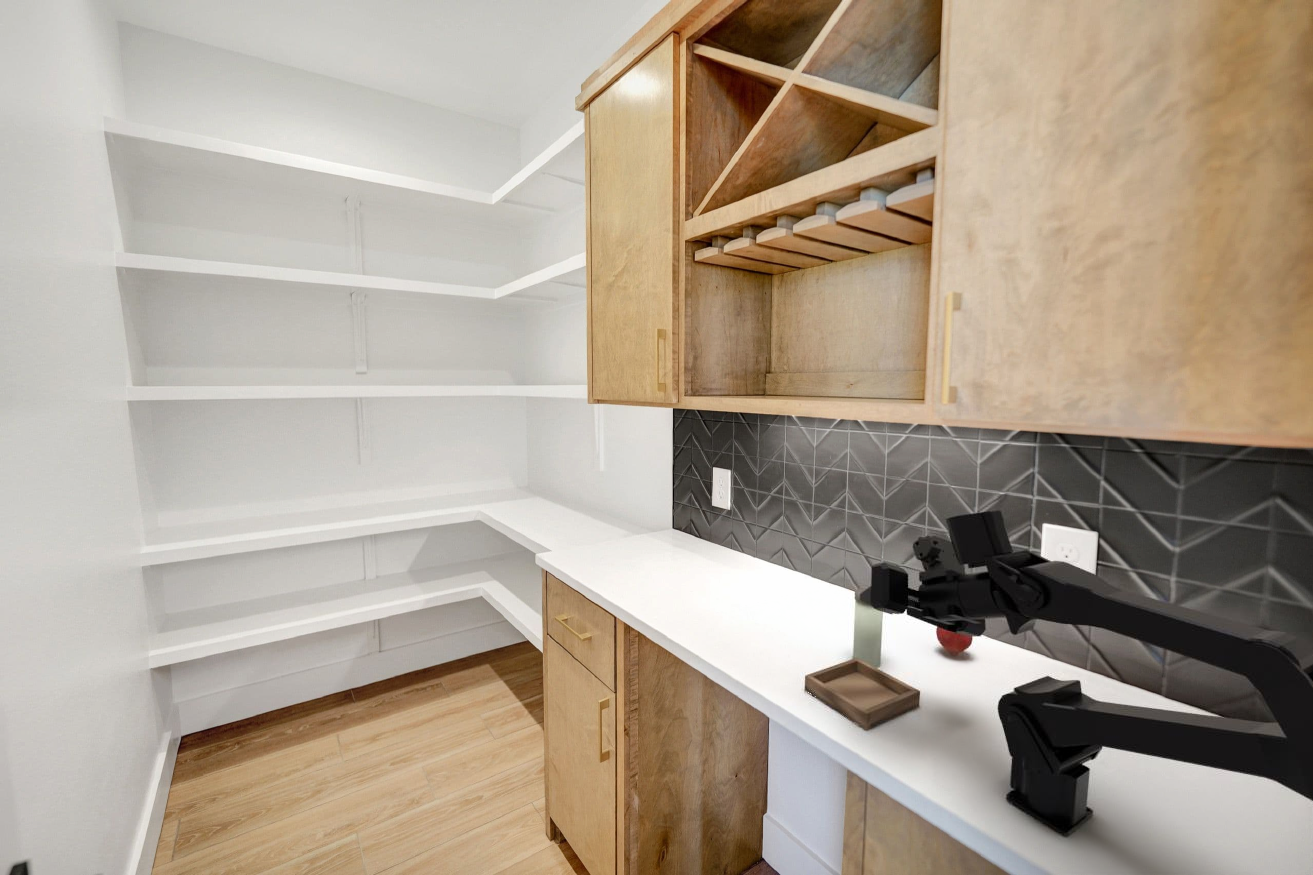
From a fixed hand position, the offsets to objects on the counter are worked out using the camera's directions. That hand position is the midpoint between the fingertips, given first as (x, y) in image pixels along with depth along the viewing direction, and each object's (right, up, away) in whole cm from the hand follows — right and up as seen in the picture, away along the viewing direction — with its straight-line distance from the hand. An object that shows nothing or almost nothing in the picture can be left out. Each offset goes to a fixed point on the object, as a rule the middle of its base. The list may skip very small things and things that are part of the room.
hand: (884, 604), depth 86 cm
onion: (+19, -14, +16) cm, 29 cm away
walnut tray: (-3, -15, +2) cm, 16 cm away
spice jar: (+2, -14, +13) cm, 20 cm away
